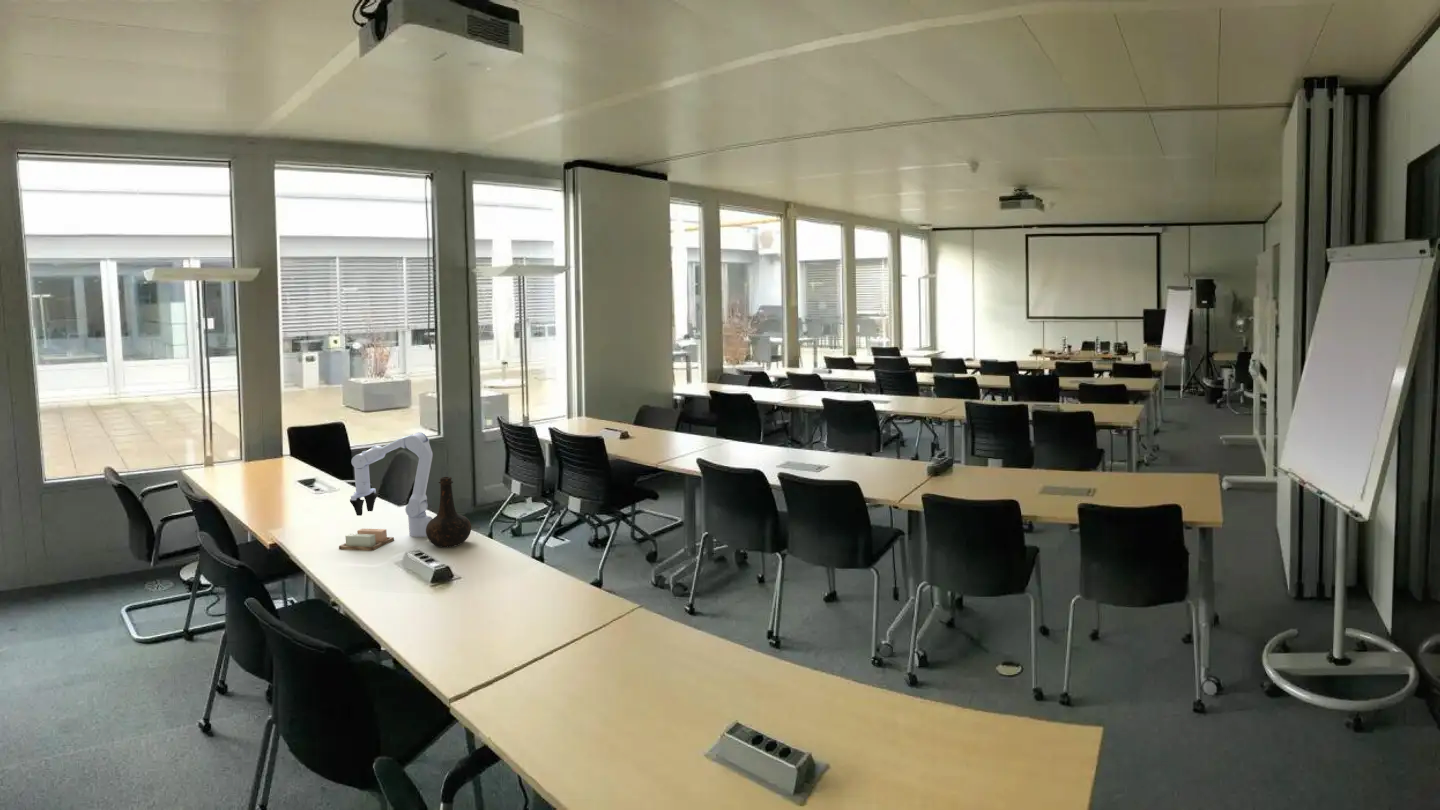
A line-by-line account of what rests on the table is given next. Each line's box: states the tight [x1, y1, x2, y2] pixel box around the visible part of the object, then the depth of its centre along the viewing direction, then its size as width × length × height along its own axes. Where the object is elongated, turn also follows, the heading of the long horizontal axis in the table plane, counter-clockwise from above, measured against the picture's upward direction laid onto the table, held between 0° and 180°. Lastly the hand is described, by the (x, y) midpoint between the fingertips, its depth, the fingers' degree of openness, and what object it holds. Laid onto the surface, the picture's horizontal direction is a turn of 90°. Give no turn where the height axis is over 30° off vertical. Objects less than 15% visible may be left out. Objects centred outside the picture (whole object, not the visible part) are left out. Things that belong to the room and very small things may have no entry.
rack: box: [338, 536, 395, 551], centre depth 349 cm, size 15×15×2 cm
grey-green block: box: [345, 533, 376, 547], centre depth 345 cm, size 11×4×5 cm, turn 78°
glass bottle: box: [426, 476, 472, 548], centre depth 347 cm, size 18×18×28 cm
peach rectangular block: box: [356, 528, 388, 541], centre depth 352 cm, size 11×4×5 cm, turn 79°
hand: (364, 513), depth 362 cm, fingers open, 7 cm apart
